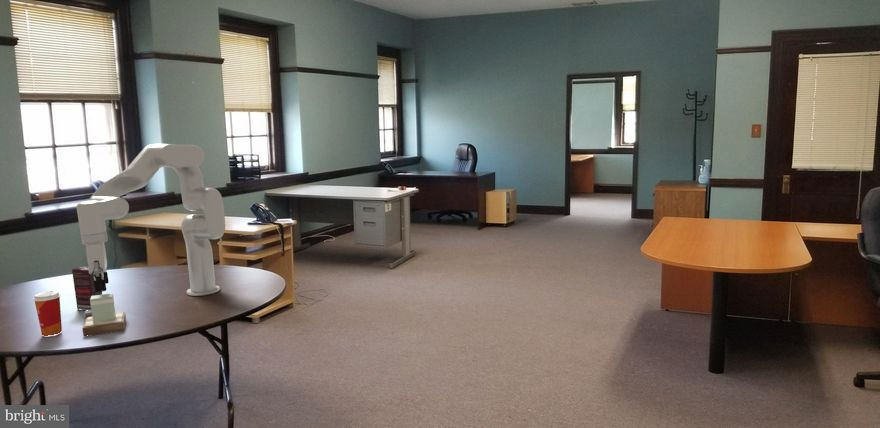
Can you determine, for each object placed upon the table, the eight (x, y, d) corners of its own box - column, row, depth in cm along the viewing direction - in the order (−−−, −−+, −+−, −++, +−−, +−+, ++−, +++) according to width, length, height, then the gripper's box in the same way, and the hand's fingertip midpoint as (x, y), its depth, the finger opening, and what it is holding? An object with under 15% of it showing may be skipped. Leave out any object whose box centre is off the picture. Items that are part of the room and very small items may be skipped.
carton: (94, 318, 215) (91, 295, 214) (115, 315, 218) (113, 293, 217) (92, 322, 211) (89, 299, 210) (114, 319, 214) (112, 296, 212)
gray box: (85, 321, 224) (83, 310, 223) (107, 317, 227) (106, 307, 227) (86, 324, 220) (84, 313, 220) (108, 320, 224) (107, 309, 223)
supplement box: (104, 308, 239) (99, 267, 236) (94, 312, 234) (88, 270, 231) (87, 306, 241) (82, 265, 239) (76, 310, 237) (71, 269, 234)
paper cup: (46, 331, 214) (40, 291, 212) (69, 329, 215) (64, 289, 212) (33, 339, 206) (27, 297, 204) (58, 337, 207) (52, 296, 205)
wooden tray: (87, 325, 218) (86, 316, 218) (126, 320, 223) (125, 311, 222) (83, 336, 207) (82, 327, 207) (124, 330, 212) (123, 321, 211)
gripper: (84, 234, 216) (92, 282, 220) (78, 244, 201) (87, 296, 204) (109, 231, 219) (116, 279, 223) (105, 241, 204) (113, 292, 207)
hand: (102, 287), depth 213 cm, fingers open, 9 cm apart
